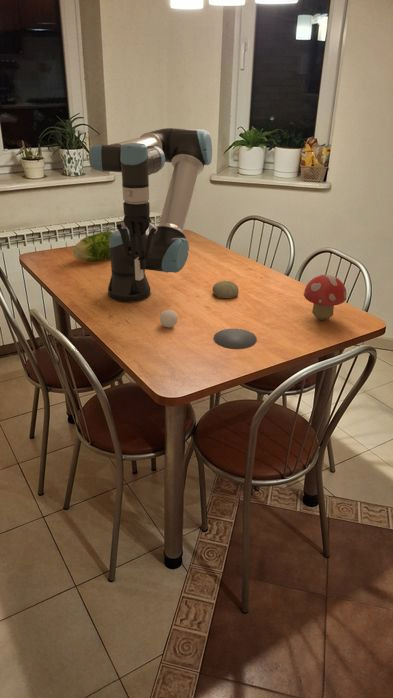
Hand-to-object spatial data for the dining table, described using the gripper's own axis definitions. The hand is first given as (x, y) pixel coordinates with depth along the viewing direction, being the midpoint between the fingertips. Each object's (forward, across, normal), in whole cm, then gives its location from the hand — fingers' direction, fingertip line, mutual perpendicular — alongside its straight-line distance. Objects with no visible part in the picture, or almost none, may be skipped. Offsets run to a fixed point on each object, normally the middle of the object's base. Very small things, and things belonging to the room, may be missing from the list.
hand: (139, 278), depth 163 cm
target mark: (+15, +32, 0) cm, 35 cm away
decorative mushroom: (+15, +54, +24) cm, 61 cm away
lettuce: (+15, -44, +47) cm, 67 cm away
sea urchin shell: (+15, +18, +32) cm, 40 cm away
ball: (+12, +10, 0) cm, 15 cm away
